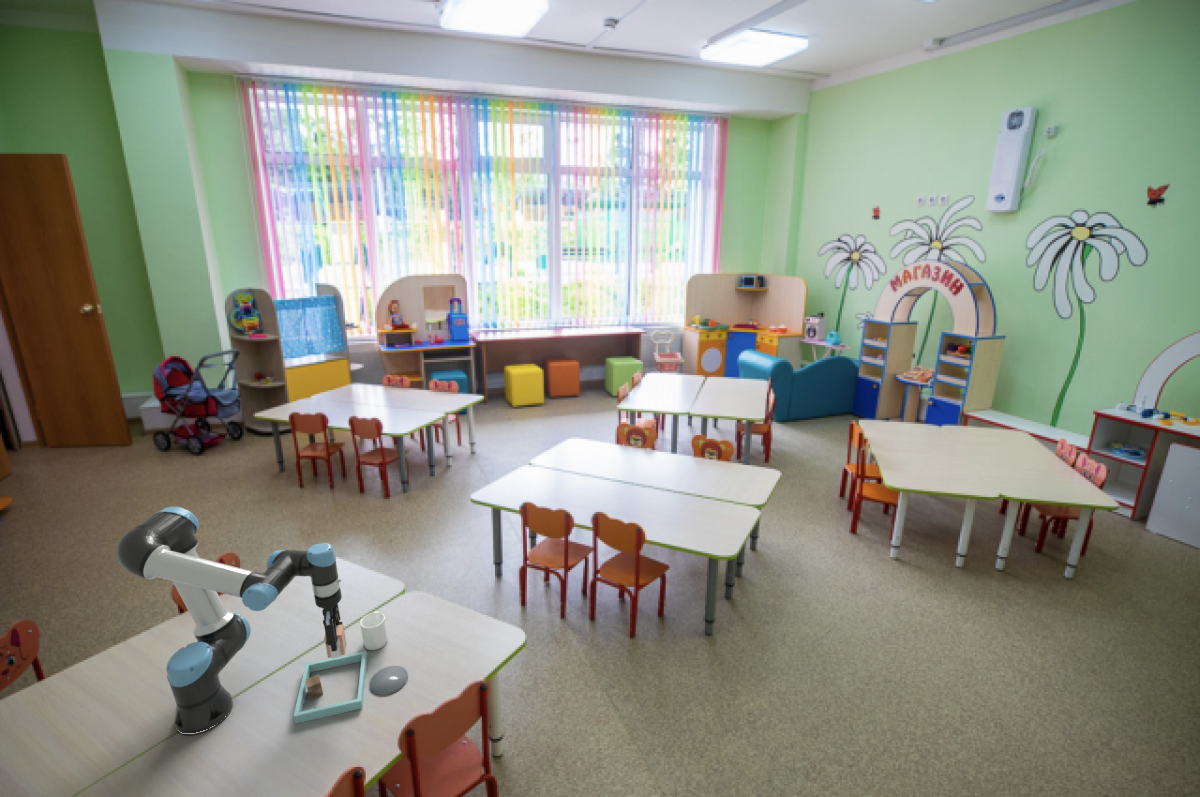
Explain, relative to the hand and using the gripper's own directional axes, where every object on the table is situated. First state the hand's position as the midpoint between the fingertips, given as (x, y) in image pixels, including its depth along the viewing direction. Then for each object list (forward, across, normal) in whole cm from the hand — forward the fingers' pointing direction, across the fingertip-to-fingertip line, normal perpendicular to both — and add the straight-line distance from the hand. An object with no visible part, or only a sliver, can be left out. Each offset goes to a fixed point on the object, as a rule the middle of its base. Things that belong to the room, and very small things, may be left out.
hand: (337, 650), depth 186 cm
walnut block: (+15, 0, +8) cm, 17 cm away
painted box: (0, 0, 0) cm, 0 cm away
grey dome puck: (+15, -2, -14) cm, 21 cm away
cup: (+15, +20, -10) cm, 27 cm away
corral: (+15, 0, +3) cm, 15 cm away
